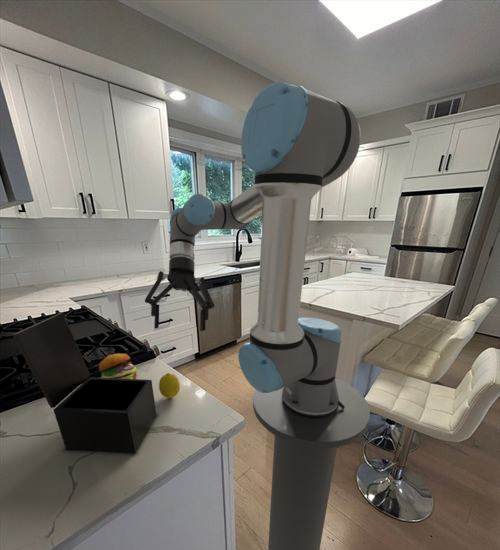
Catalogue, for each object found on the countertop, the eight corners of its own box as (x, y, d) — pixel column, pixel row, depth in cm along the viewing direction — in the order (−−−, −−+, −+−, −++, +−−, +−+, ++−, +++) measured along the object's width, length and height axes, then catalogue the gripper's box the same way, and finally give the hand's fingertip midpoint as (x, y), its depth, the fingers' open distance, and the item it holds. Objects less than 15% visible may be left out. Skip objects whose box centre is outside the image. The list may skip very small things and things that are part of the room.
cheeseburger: (114, 394, 80) (103, 362, 77) (98, 389, 86) (87, 359, 84) (145, 378, 87) (135, 349, 85) (128, 375, 94) (119, 347, 91)
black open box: (156, 415, 72) (151, 379, 67) (135, 453, 60) (127, 413, 56) (98, 412, 72) (89, 377, 68) (66, 450, 61) (53, 409, 56)
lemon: (175, 390, 82) (173, 366, 79) (184, 399, 78) (181, 374, 75) (157, 396, 79) (154, 372, 76) (165, 406, 75) (162, 381, 72)
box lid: (63, 312, 62) (59, 313, 62) (15, 334, 50) (12, 334, 50) (90, 375, 68) (87, 375, 68) (54, 407, 56) (50, 408, 56)
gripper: (216, 270, 93) (215, 332, 91) (136, 257, 82) (133, 328, 79) (224, 263, 87) (224, 329, 84) (139, 247, 75) (136, 324, 73)
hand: (180, 329), depth 82 cm, fingers open, 13 cm apart
